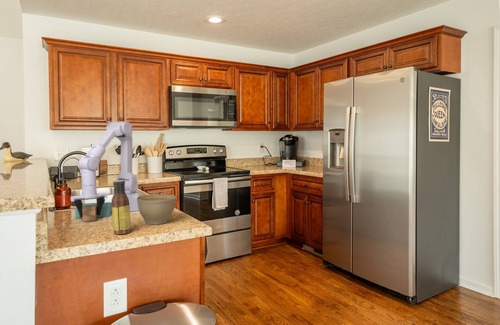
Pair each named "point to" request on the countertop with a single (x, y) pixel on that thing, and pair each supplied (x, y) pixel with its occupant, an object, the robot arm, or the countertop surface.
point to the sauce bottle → (120, 209)
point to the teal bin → (105, 209)
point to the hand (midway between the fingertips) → (90, 216)
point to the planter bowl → (156, 207)
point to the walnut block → (89, 213)
